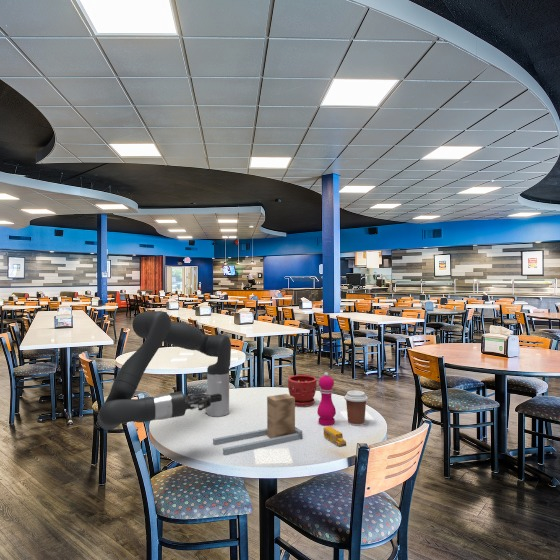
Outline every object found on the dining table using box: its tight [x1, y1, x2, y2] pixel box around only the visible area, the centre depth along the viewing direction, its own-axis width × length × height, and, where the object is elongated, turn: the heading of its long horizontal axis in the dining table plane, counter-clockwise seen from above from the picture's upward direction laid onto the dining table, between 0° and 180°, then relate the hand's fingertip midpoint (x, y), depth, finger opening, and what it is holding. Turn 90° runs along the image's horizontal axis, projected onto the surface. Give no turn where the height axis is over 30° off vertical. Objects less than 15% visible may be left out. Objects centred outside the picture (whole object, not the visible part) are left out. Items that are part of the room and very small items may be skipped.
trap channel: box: [212, 426, 303, 456], centre depth 141 cm, size 29×11×3 cm, turn 119°
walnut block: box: [266, 393, 296, 439], centre depth 145 cm, size 8×6×14 cm
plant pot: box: [287, 374, 317, 407], centre depth 188 cm, size 13×13×12 cm
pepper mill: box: [317, 371, 337, 427], centre depth 160 cm, size 7×7×20 cm
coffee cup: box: [343, 389, 369, 427], centre depth 160 cm, size 9×9×12 cm
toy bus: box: [323, 425, 347, 447], centre depth 141 cm, size 3×10×4 cm, turn 25°
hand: (220, 397), depth 135 cm, fingers closed
